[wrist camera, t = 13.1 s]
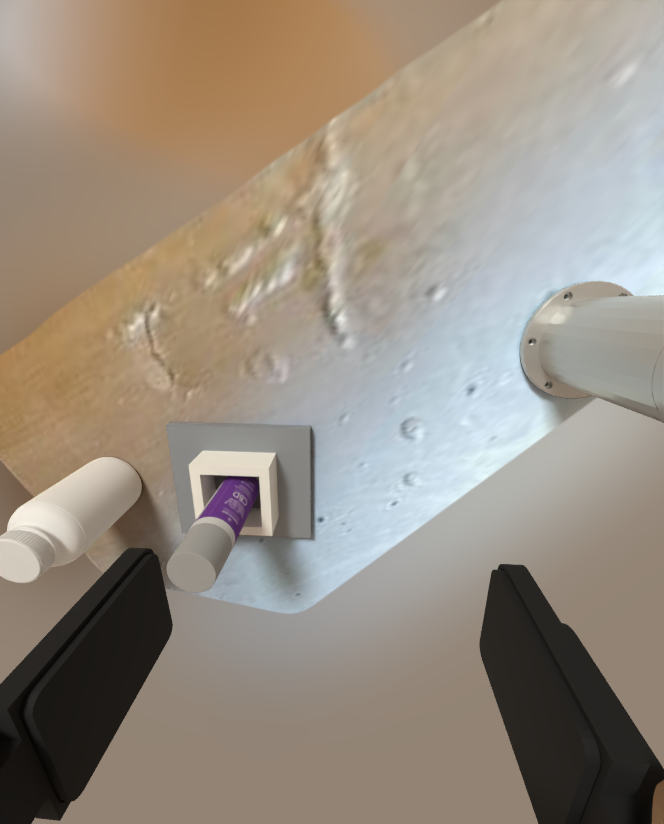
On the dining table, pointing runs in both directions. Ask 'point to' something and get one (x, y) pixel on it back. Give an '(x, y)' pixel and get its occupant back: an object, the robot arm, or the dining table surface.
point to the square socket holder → (245, 472)
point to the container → (213, 535)
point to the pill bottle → (67, 518)
